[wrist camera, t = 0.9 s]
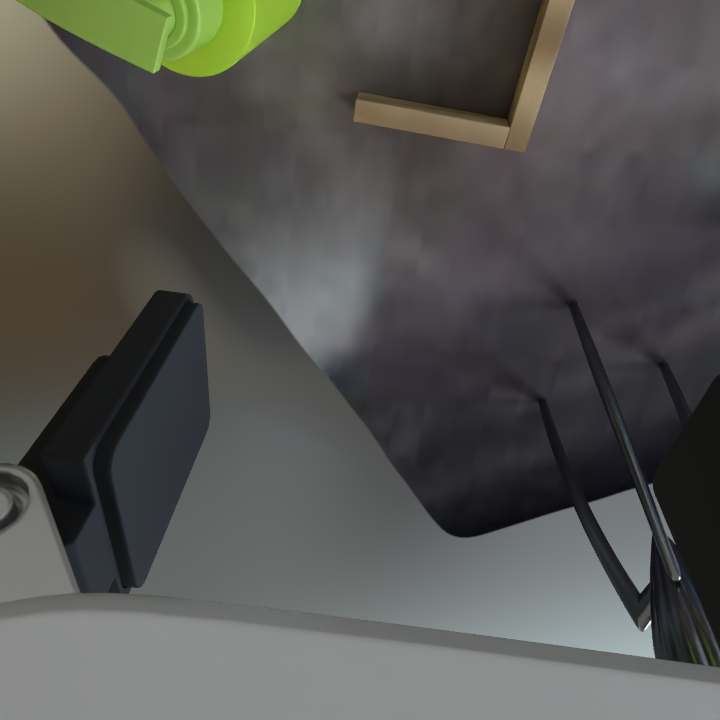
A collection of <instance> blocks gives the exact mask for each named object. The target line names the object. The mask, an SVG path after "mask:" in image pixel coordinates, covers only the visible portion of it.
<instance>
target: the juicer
mask: <svg viewBox="0 0 720 720" xmlns="http://www.w3.org/2000/svg"><path fill="white" fill-rule="evenodd" d="M569 309H570V312H571V315H572V318H573V321H574V323H575V326H576V329H577V332H578V335H579V338H580V341H581V344H582V347H583V350H584V352H585V355H586V358H587V361H588V364H589V367H590V369H591V372H592V375H593V378H594V380H595V383H596V386H597V389H598V391H599V394H600V397H601V399H602V402H603V405H604V407H605V410H606V413H607V415H608V418H609V420H610V423H611V426H612V428H613V431H614V434H615V436H616V439H617V441H618V444H619V447H620V449H621V452H622V454H623V457H624V460H625V462H626V465H627V467H628V470H629V473H630V475H631V478H632V480H633V483H634V486H635V488H636V491H637V493H638V496H639V499H640V501H641V504H642V507H643V509H644V512H645V515H646V517H647V520H648V523H649V525H650V528H651V531H652V545H651V562H650V563H651V565H650V583H649V584H648V585H647V586H646V588H645V589H644V590H643V591H642V593H641V594H640V593H639V591H638V590H637V588H636V587H635V585H634V584H633V582H632V581H631V579H630V577H629V576H628V574H627V573H626V571H625V570H624V568H623V566H622V565H621V563H620V561H619V560H618V558H617V557H616V555H615V553H614V551H613V550H612V548H611V546H610V544H609V543H608V541H607V539H606V537H605V536H604V534H603V532H602V530H601V528H600V526H599V524H598V523H597V521H596V518H595V517H594V515H593V513H592V511H591V509H590V507H589V505H588V503H587V500H586V498H585V496H584V494H583V492H582V490H581V488H580V486H579V483H578V481H577V479H576V477H575V474H574V472H573V470H572V467H571V465H570V463H569V460H568V458H567V455H566V453H565V451H564V448H563V445H562V443H561V440H560V438H559V435H558V433H557V430H556V427H555V424H554V422H553V419H552V416H551V413H550V410H549V407H548V404H547V401H546V400H545V399H540V400H539V402H538V403H539V407H540V411H541V415H542V418H543V422H544V426H545V429H546V432H547V436H548V439H549V442H550V445H551V448H552V451H553V454H554V457H555V460H556V463H557V465H558V468H559V471H560V474H561V476H562V479H563V481H564V484H565V486H566V489H567V491H568V494H569V496H570V499H571V501H572V503H573V506H574V508H575V510H576V512H577V515H578V516H579V519H580V521H581V523H582V526H583V528H584V530H585V532H586V534H587V536H588V538H589V540H590V542H591V545H592V547H593V548H594V550H595V553H596V554H597V556H598V558H599V560H600V562H601V564H602V566H603V568H604V570H605V572H606V574H607V575H608V577H609V579H610V581H611V583H612V585H613V586H614V588H615V590H616V592H617V594H618V595H619V597H620V599H621V601H622V602H623V604H624V606H625V608H626V609H627V611H628V613H629V614H630V616H631V618H632V619H633V621H634V623H635V624H636V626H637V628H638V629H639V630H640V631H642V632H643V631H645V630H646V628H647V627H648V625H649V624H650V623H651V628H652V639H653V647H654V653H655V659H661V660H669V661H676V662H683V663H690V664H697V665H705V666H712V667H719V668H720V649H719V646H718V644H717V642H716V639H715V637H714V634H713V632H712V630H711V627H710V625H709V622H708V620H707V618H706V615H705V613H704V610H703V608H702V606H701V603H700V601H699V599H698V596H697V594H696V591H695V589H694V587H693V584H692V582H691V579H690V577H689V575H688V572H687V570H686V567H685V565H684V563H683V560H682V558H681V556H680V553H679V551H678V548H677V546H676V545H675V544H674V543H673V541H672V540H671V539H670V538H669V537H668V536H667V534H666V532H665V529H664V527H663V524H662V521H661V519H660V516H659V513H658V511H657V508H656V505H655V503H654V500H653V497H652V495H651V492H650V489H649V486H648V484H647V481H646V478H645V476H644V473H643V470H642V467H641V465H640V462H639V459H638V457H637V454H636V451H635V448H634V446H633V443H632V440H631V438H630V435H629V432H628V429H627V427H626V424H625V421H624V419H623V416H622V413H621V411H620V408H619V405H618V403H617V400H616V397H615V395H614V392H613V389H612V387H611V384H610V382H609V379H608V376H607V374H606V371H605V369H604V366H603V364H602V361H601V359H600V356H599V354H598V351H597V349H596V347H595V344H594V342H593V339H592V337H591V334H590V332H589V330H588V327H587V325H586V322H585V320H584V318H583V315H582V313H581V311H580V308H579V306H578V304H577V303H576V302H574V301H573V302H571V303H570V304H569ZM659 368H660V370H661V373H662V375H663V377H664V380H665V382H666V385H667V387H668V390H669V392H670V395H671V397H672V400H673V403H674V405H675V408H676V411H677V413H678V416H679V419H680V422H681V425H682V427H683V428H684V426H685V425H686V423H687V421H688V420H689V418H690V417H691V415H692V413H691V411H690V409H689V406H688V404H687V402H686V400H685V398H684V395H683V393H682V391H681V389H680V387H679V385H678V383H677V381H676V379H675V377H674V375H673V373H672V371H671V369H670V367H669V365H668V364H667V363H662V364H660V366H659Z"/></svg>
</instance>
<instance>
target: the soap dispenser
mask: <svg viewBox="0 0 720 720" xmlns="http://www.w3.org/2000/svg"><path fill="white" fill-rule="evenodd" d="M17 1H18V2H20V3H21V4H23V5H25V6H26V7H28V8H29V9H31V10H32V11H34V12H36V13H37V14H39V15H41V16H42V17H44V18H46V19H47V20H49V21H51V22H53V23H54V24H56V25H58V26H60V27H61V28H63V29H65V30H67V31H69V32H71V33H73V34H74V35H76V36H78V37H80V38H82V39H84V40H86V41H88V42H90V43H92V44H94V45H96V46H98V47H100V48H102V49H104V50H106V51H108V52H110V53H112V54H114V55H116V56H118V57H120V58H122V59H124V60H126V61H128V62H130V63H132V64H134V65H136V66H138V67H140V68H143V69H145V70H147V71H149V72H151V73H155V72H157V71H159V69H160V66H161V64H162V65H163V66H165V67H167V68H168V69H170V70H172V71H175V72H177V73H180V74H183V75H187V76H193V77H206V76H212V75H216V74H218V73H221V72H223V71H225V70H227V69H228V68H230V67H231V66H233V65H234V64H235V63H236V62H238V61H239V60H240V59H241V58H243V57H244V56H245V55H246V54H248V53H249V52H250V51H251V50H253V49H254V48H255V47H256V46H258V45H259V44H260V43H261V42H263V41H264V40H265V39H267V38H268V37H269V36H270V35H272V34H273V33H274V32H275V31H277V30H278V29H279V28H280V27H282V26H283V25H284V24H285V23H287V22H288V21H289V20H290V19H291V18H292V17H293V15H294V14H295V13H296V11H297V9H298V8H299V6H300V3H301V1H302V0H17Z"/></svg>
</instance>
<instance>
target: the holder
mask: <svg viewBox="0 0 720 720" xmlns="http://www.w3.org/2000/svg"><path fill="white" fill-rule="evenodd" d="M574 1H575V0H542V3H541V6H540V10H539V13H538V16H537V20H536V23H535V26H534V30H533V33H532V36H531V40H530V43H529V47H528V50H527V53H526V57H525V60H524V63H523V67H522V70H521V73H520V77H519V80H518V83H517V87H516V90H515V94H514V97H513V100H512V104H511V107H510V110H509V114H508V117H507V119H504V118H498V117H493V116H488V115H482V114H477V113H472V112H466V111H461V110H455V109H450V108H445V107H439V106H434V105H429V104H423V103H418V102H412V101H407V100H402V99H396V98H391V97H386V96H380V95H375V94H369V93H364V92H358V95H357V98H356V101H355V109H354V116H353V121H355V122H360V123H366V124H371V125H377V126H382V127H387V128H393V129H398V130H404V131H409V132H415V133H420V134H425V135H431V136H436V137H442V138H447V139H452V140H458V141H463V142H469V143H474V144H480V145H485V146H490V147H496V148H501V149H503V148H504V149H506V150H511V151H516V152H522V153H525V151H526V147H527V144H528V141H529V138H530V135H531V132H532V129H533V126H534V123H535V120H536V117H537V114H538V111H539V108H540V105H541V102H542V99H543V96H544V93H545V89H546V86H547V83H548V80H549V77H550V74H551V71H552V68H553V65H554V62H555V59H556V56H557V53H558V50H559V47H560V44H561V41H562V38H563V35H564V31H565V28H566V25H567V22H568V19H569V16H570V13H571V10H572V7H573V4H574Z"/></svg>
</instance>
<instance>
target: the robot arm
mask: <svg viewBox="0 0 720 720" xmlns="http://www.w3.org/2000/svg"><path fill="white" fill-rule="evenodd" d="M205 348H206V346H205V332H204V316H203V308H202V305H201V304H199V303H193V299H192V296H191V295H190V294H185V293H178V292H170V291H163V290H158V291H156V292H155V293H154V295H153V296H152V298H151V299H150V301H149V302H148V303H147V305H146V306H145V307H144V309H143V310H142V312H141V313H140V314H139V316H138V317H137V319H136V320H135V322H134V323H133V325H132V326H131V327H130V328H129V330H128V331H127V333H126V334H125V336H124V337H123V338H122V340H121V341H120V342H119V344H118V345H117V347H116V348H115V350H114V351H113V352H112V354H111V356H105V355H103V356H101V357H99V358H98V359H96V361H95V362H94V363H93V364H92V365H91V367H90V368H89V369H88V371H87V372H86V374H85V375H84V376H83V378H82V379H81V380H80V381H79V383H78V384H77V385H76V387H75V388H74V390H73V391H72V392H71V394H70V395H69V396H68V398H67V399H66V400H65V402H64V403H63V404H62V406H61V407H60V409H59V410H58V411H57V413H56V414H55V415H54V417H53V418H52V419H51V421H50V422H49V423H48V425H47V426H46V428H45V429H44V430H43V431H42V433H41V434H40V436H39V437H38V438H37V440H36V441H35V442H34V444H33V445H32V446H31V448H30V449H29V451H28V452H27V453H26V455H25V456H24V457H23V459H22V460H21V461H20V463H19V464H18V465H13V464H9V463H0V720H720V668H719V667H712V666H705V665H697V664H690V663H683V662H676V661H669V660H661V659H654V658H647V657H639V656H632V655H625V654H617V653H610V652H603V651H595V650H588V649H580V648H573V647H565V646H558V645H550V644H543V643H536V642H528V641H520V640H513V639H505V638H498V637H491V636H483V635H475V634H467V633H460V632H453V631H445V630H437V629H430V628H422V627H415V626H406V625H399V624H391V623H383V622H376V621H367V620H360V619H352V618H344V617H336V616H329V615H321V614H312V613H305V612H298V611H290V610H282V609H273V608H265V607H257V606H247V605H239V604H230V603H221V602H212V601H202V600H193V599H185V598H175V597H167V596H152V595H136V594H129V592H130V590H131V588H132V587H134V588H140V587H141V586H142V585H143V583H144V582H145V580H146V578H147V575H148V573H149V570H150V568H151V565H152V563H153V561H154V558H155V556H156V554H157V551H158V549H159V546H160V544H161V541H162V539H163V537H164V534H165V532H166V529H167V527H168V524H169V522H170V520H171V517H172V515H173V512H174V510H175V508H176V505H177V503H178V500H179V498H180V495H181V493H182V491H183V488H184V486H185V483H186V481H187V478H188V476H189V473H190V471H191V469H192V467H193V464H194V461H195V459H196V457H197V455H198V452H199V450H200V447H201V445H202V442H203V440H204V438H205V435H206V433H207V430H208V426H209V419H210V406H209V391H208V376H207V361H206V349H205ZM653 490H654V493H655V496H656V498H657V501H658V503H659V505H660V508H661V510H662V512H663V515H664V517H665V520H666V522H667V524H668V527H669V529H670V531H671V534H672V536H673V539H674V541H675V543H676V546H677V548H678V551H679V553H680V556H681V558H682V560H683V563H684V565H685V567H686V570H687V572H688V575H689V577H690V579H691V582H692V584H693V587H694V589H695V591H696V594H697V596H698V599H699V601H700V603H701V606H702V608H703V610H704V613H705V615H706V618H707V620H708V622H709V625H710V627H711V630H712V632H713V634H714V637H715V639H716V642H717V644H718V646H719V649H720V375H718V376H717V377H716V378H715V379H714V380H713V382H712V383H711V385H710V386H709V388H708V390H707V391H706V393H705V394H704V396H703V398H702V399H701V401H700V402H699V404H698V405H697V407H696V409H695V410H694V412H693V413H692V415H691V417H690V418H689V420H688V421H687V423H686V425H685V426H684V428H683V429H682V431H681V433H680V434H679V436H678V437H677V439H676V441H675V442H674V444H673V445H672V447H671V449H670V450H669V452H668V453H667V455H666V457H665V458H664V460H663V461H662V463H661V465H660V466H659V468H658V469H657V471H656V473H655V475H654V479H653Z"/></svg>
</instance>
